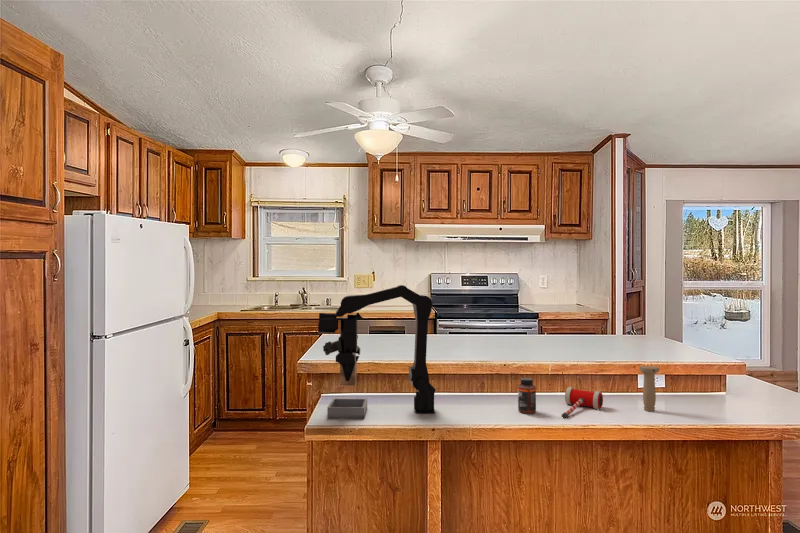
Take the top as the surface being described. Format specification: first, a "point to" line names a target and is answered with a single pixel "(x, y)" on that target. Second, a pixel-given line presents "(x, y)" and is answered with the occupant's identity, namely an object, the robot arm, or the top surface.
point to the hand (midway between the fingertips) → (348, 379)
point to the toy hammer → (582, 399)
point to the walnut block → (352, 379)
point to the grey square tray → (347, 408)
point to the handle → (649, 386)
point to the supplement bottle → (527, 396)
